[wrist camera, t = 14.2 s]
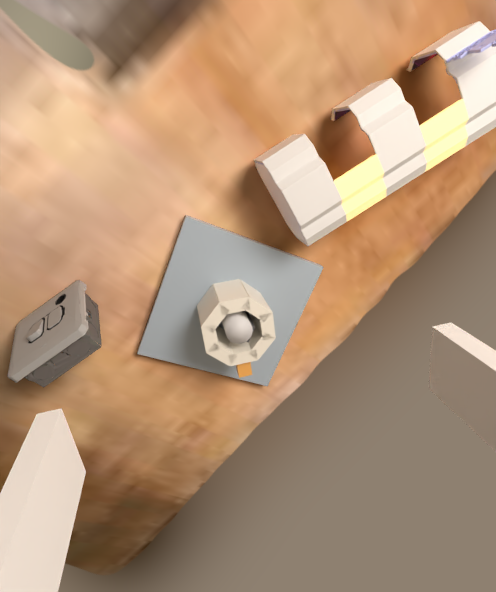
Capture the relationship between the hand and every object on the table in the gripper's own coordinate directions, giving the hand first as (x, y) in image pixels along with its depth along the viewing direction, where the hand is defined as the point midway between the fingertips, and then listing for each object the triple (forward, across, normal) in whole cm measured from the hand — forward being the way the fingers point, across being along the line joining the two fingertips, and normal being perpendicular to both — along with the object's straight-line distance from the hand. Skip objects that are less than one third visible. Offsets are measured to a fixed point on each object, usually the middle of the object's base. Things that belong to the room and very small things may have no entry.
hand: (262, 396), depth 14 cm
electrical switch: (+35, -17, -9) cm, 40 cm away
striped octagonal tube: (+35, +21, +6) cm, 41 cm away
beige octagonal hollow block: (+33, +2, -13) cm, 36 cm away
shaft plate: (+35, +2, -12) cm, 37 cm away
